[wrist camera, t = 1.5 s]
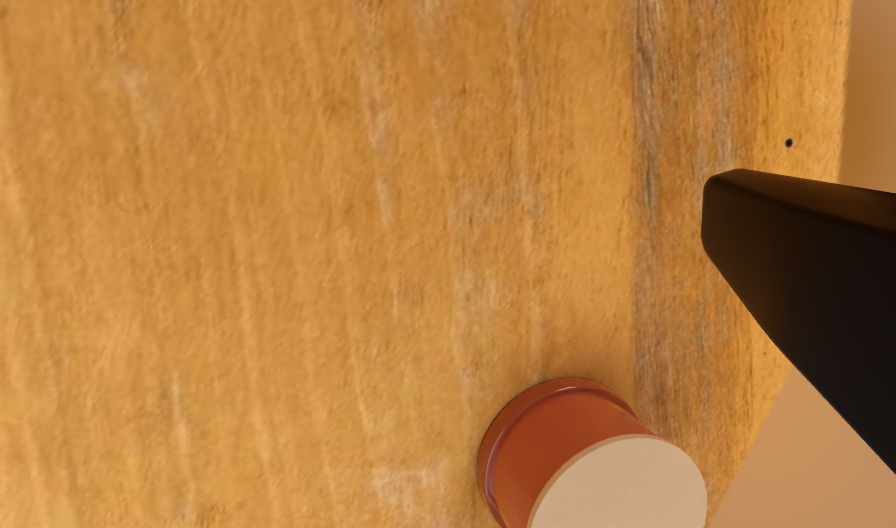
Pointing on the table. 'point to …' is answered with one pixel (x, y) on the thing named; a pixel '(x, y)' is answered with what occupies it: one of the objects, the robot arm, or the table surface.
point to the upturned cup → (584, 464)
